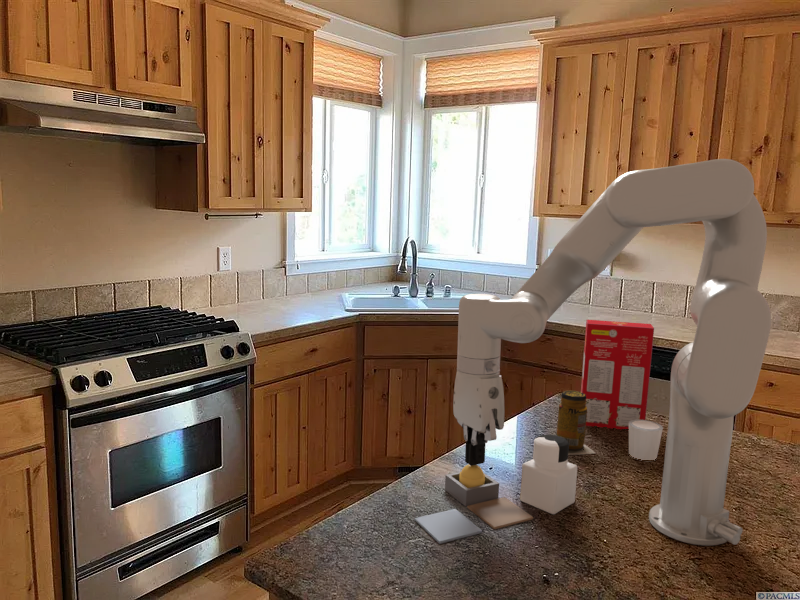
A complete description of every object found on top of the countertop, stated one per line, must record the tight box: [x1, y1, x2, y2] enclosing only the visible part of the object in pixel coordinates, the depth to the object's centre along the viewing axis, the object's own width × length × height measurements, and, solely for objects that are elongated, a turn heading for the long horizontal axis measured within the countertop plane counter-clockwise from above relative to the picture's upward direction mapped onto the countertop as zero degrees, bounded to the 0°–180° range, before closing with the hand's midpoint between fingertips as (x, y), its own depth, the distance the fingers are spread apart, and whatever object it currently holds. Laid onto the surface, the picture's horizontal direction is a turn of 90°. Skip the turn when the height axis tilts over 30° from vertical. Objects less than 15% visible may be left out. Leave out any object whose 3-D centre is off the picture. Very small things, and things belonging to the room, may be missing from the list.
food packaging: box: [580, 319, 655, 430], centre depth 154 cm, size 15×5×25 cm, turn 77°
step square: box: [466, 496, 534, 530], centre depth 110 cm, size 8×8×1 cm
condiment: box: [556, 390, 596, 456], centre depth 140 cm, size 7×8×12 cm
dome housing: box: [444, 471, 500, 507], centre depth 117 cm, size 7×7×3 cm
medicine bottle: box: [519, 434, 578, 515], centre depth 114 cm, size 7×7×12 cm
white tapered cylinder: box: [628, 419, 664, 461], centre depth 137 cm, size 7×7×7 cm
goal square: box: [414, 508, 483, 545], centre depth 106 cm, size 8×8×1 cm
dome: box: [459, 463, 486, 488], centre depth 117 cm, size 5×5×5 cm
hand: (474, 462), depth 116 cm, fingers closed
